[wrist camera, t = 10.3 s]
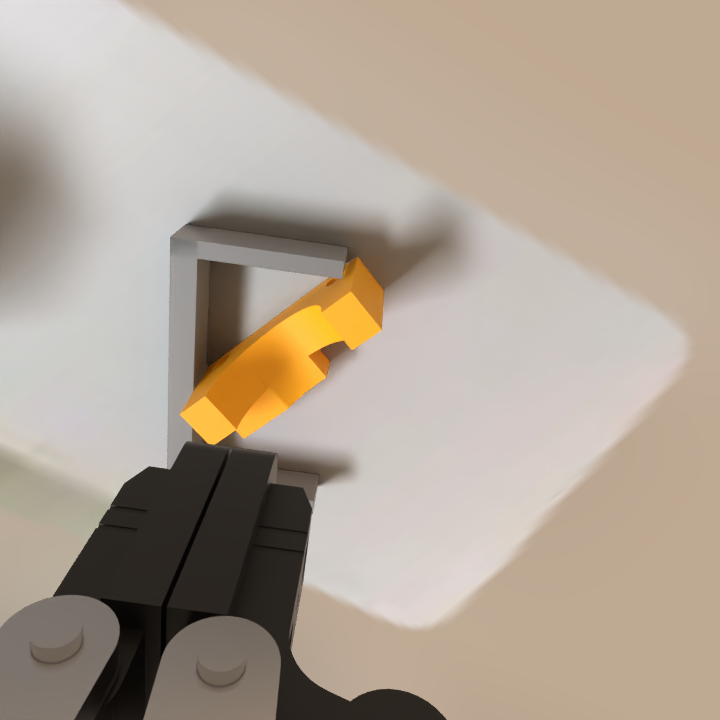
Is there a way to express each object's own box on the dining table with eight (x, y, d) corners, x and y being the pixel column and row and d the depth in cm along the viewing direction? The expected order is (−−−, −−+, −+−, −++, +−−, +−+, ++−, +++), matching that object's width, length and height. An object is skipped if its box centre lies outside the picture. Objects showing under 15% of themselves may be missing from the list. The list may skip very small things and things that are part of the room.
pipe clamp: (253, 413, 44) (232, 468, 38) (209, 365, 43) (179, 414, 37) (401, 311, 41) (401, 355, 35) (357, 255, 40) (350, 291, 34)
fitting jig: (180, 467, 46) (166, 493, 43) (186, 224, 39) (170, 236, 36) (317, 486, 46) (312, 513, 43) (348, 247, 39) (344, 261, 36)
